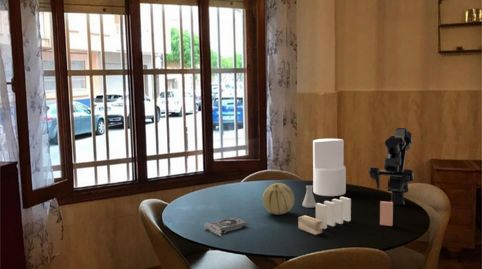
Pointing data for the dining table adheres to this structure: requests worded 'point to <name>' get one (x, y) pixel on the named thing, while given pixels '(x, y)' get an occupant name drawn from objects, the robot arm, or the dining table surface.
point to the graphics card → (225, 225)
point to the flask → (309, 198)
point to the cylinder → (329, 167)
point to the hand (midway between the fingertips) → (388, 190)
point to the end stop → (310, 224)
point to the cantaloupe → (278, 198)
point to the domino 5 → (386, 213)
